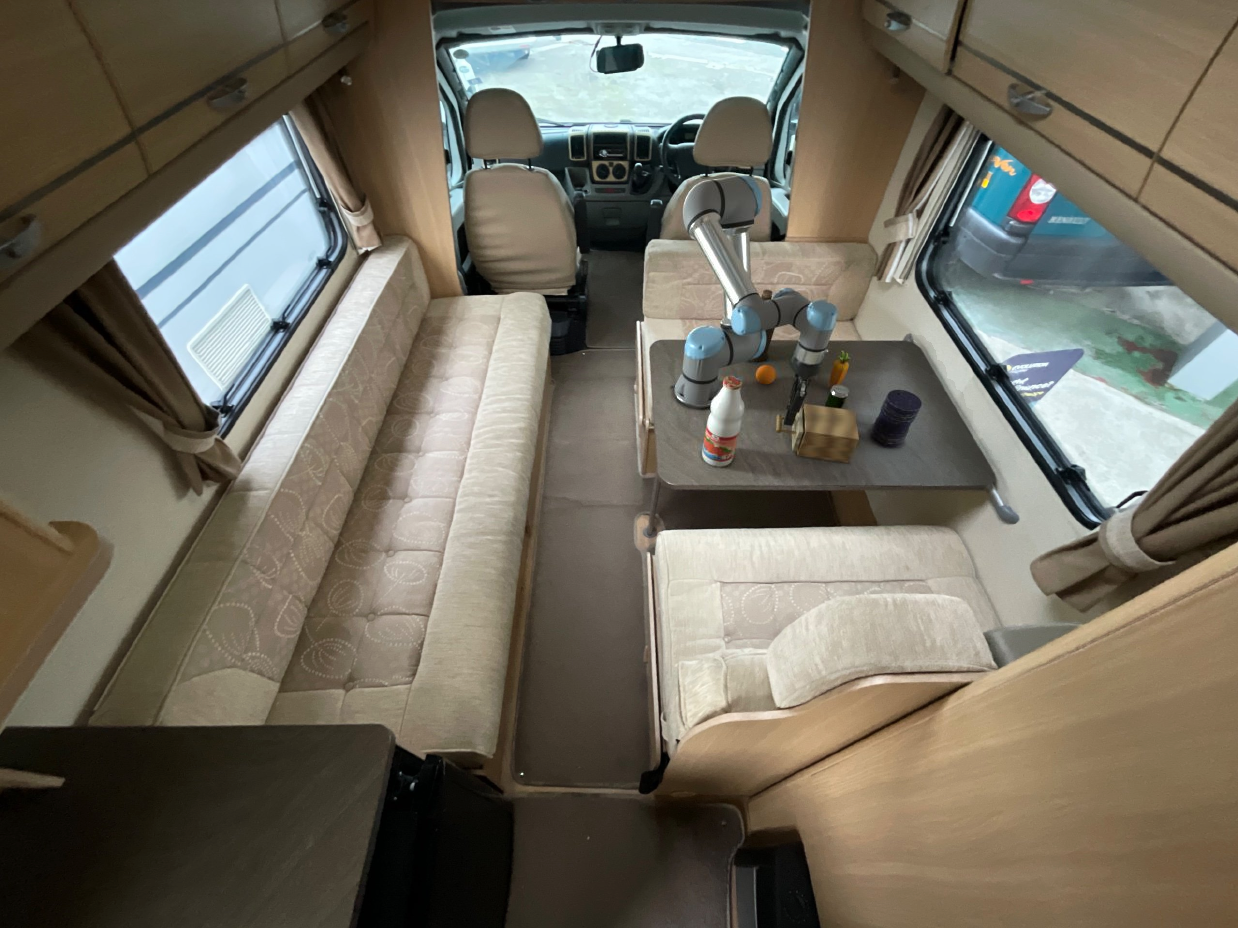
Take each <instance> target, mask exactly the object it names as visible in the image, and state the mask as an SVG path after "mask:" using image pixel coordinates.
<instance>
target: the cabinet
mask: <svg viewBox="0 0 1238 928" xmlns="http://www.w3.org/2000/svg"><path fill="white" fill-rule="evenodd" d="M824 406H825V405H824ZM824 406H823V405H816V404H810V403H809V404H808V403H803V406H802V417H803V420H805V433H804V436H803V439H802V442H801V440H800V443H799V446H798V449H797V451H796V452H797V457H803V458H804V457H805V458H812V459H818V460H823V461H824V460H825V461H831V462H836V463H837V462H838V463H844V464H849V463H850V460H851V459H852V455H853V453H854V451H855V449H856V447H857V445H858V442H859V440H860V438H859V437H860V436H859V430H858V424H857V416H856V410H853V409H852V410H851V409H845V408H843V409H838V408H831V407H824Z"/></svg>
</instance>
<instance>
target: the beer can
mask: <svg viewBox="0 0 1238 928" xmlns="http://www.w3.org/2000/svg"><path fill="white" fill-rule="evenodd" d="M848 397H849V388H848V387H847V386H846V385H844V384H843V385H842V384H840V385H834V386H833V387H832V388H830V390H829V393H828V395H827V399H826V401H825V404H824V407H831V408H838V409H844V406H845V404H846V401H847V399H848Z"/></svg>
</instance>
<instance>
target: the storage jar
mask: <svg viewBox="0 0 1238 928" xmlns="http://www.w3.org/2000/svg"><path fill="white" fill-rule="evenodd" d="M922 405H923V402H922V400H921V398H920V397H919V396H918V395H917V394H914V393H913V392H911V391H908V390H905V389H893V390H890V391H889V392H888V393H887V395H886V397H885V399H884V400H883V402H882V405H881V407H880V411H879V414H878V416H877V417H876V418H875V420H874V422H873V424H872V427H871V429H870V432H869V437H870V439H871V440H872V441H873V442H874V443H875V444H876V445H878V446H880V447H883V448H887V449H895V448H898V447H901V446H902V444H903V441H904V440H905V439H906V437H907V435H908V433H909V430H910V427H911V426H912V423H913V422H914V421H915V420H916V417H917V416H918V414H919V412H920V409H921V408H922Z"/></svg>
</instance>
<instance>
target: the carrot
mask: <svg viewBox="0 0 1238 928" xmlns="http://www.w3.org/2000/svg"><path fill="white" fill-rule="evenodd" d="M840 354H841V355H838V358H839V359H837V360H834V363H833V365H832V368H831V372H830V377H829V387H830V389H831V388H832V387H833V386H834V385H841V384H842V382H843V380H844V379H845V377H846V375H847V372H848V370H849V366H850V365H849V363H848V361H849V360H851V357H850V356H849V354H848V352H844V350H841V351H840Z"/></svg>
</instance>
